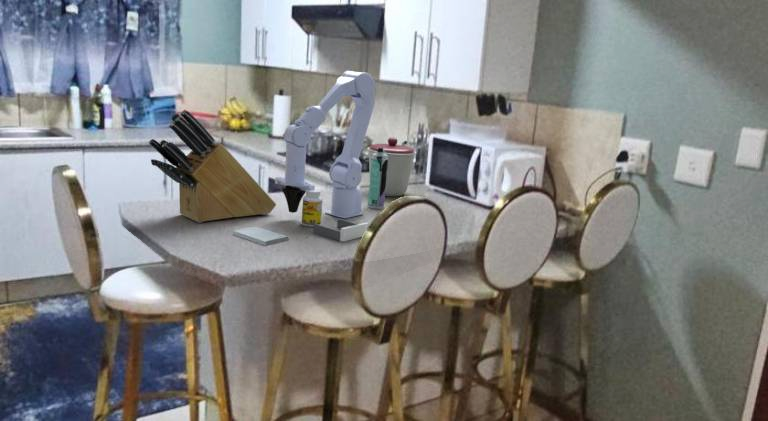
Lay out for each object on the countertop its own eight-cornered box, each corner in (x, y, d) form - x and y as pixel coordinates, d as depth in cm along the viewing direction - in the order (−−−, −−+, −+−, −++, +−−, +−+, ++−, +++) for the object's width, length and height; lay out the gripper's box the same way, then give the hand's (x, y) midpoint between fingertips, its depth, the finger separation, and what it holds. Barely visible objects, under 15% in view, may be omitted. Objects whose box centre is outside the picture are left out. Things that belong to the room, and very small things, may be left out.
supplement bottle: (297, 224, 180) (299, 189, 178) (309, 221, 185) (311, 187, 183) (313, 228, 178) (315, 193, 175) (324, 225, 182) (326, 190, 180)
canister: (386, 201, 221) (391, 141, 216) (353, 190, 234) (358, 134, 229) (422, 196, 233) (427, 140, 229) (389, 187, 246) (394, 133, 241)
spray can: (386, 208, 210) (391, 149, 205) (371, 208, 207) (375, 148, 203) (380, 204, 214) (385, 146, 210) (365, 204, 212) (370, 146, 208)
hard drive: (288, 236, 165) (256, 225, 172) (265, 241, 158) (233, 230, 165) (288, 242, 165) (256, 231, 172) (265, 247, 158) (232, 236, 166)
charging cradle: (338, 226, 182) (339, 214, 181) (367, 235, 176) (368, 222, 175) (313, 232, 174) (313, 219, 173) (342, 241, 167) (343, 228, 166)
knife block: (146, 218, 173) (146, 105, 166) (256, 206, 197) (260, 107, 190) (164, 228, 166) (164, 110, 158) (276, 214, 189) (281, 111, 182)
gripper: (268, 163, 183) (266, 208, 187) (303, 172, 175) (300, 219, 178) (285, 161, 189) (283, 205, 192) (320, 169, 180) (317, 215, 184)
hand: (292, 211), depth 185 cm, fingers closed
